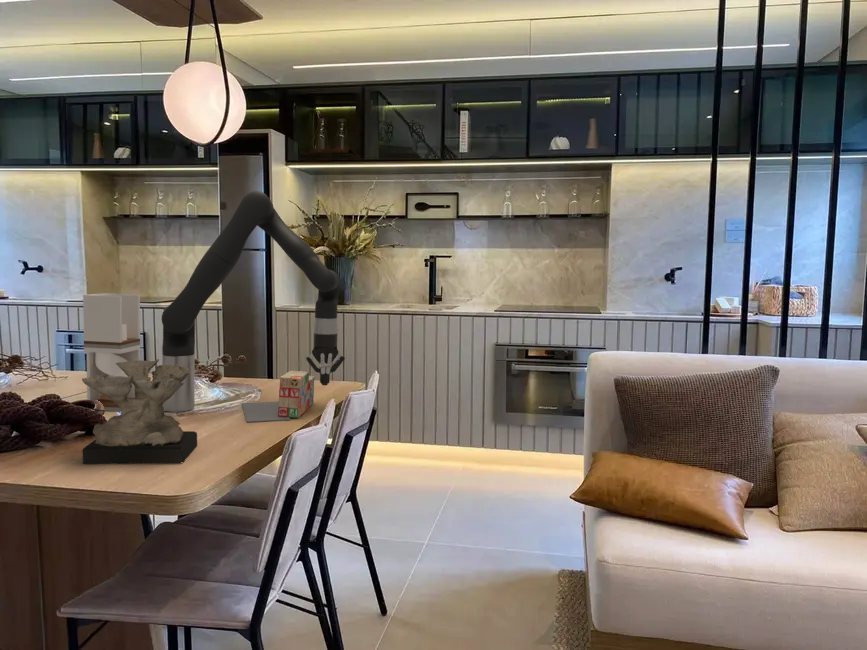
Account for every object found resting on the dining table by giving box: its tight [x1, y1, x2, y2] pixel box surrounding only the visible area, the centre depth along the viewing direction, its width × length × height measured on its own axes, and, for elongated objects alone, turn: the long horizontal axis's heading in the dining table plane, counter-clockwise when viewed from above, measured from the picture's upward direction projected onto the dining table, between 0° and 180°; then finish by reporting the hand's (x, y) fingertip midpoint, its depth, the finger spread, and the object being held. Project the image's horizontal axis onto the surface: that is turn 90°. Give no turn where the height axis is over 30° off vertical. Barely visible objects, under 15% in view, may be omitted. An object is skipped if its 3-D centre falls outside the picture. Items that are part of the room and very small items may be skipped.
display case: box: [82, 293, 141, 412], centre depth 184 cm, size 11×11×35 cm
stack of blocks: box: [278, 370, 315, 419], centre depth 189 cm, size 21×6×12 cm, turn 179°
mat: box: [241, 400, 291, 424], centre depth 186 cm, size 12×24×1 cm, turn 21°
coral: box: [81, 358, 198, 465], centre depth 143 cm, size 25×20×21 cm
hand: (324, 384), depth 192 cm, fingers closed
